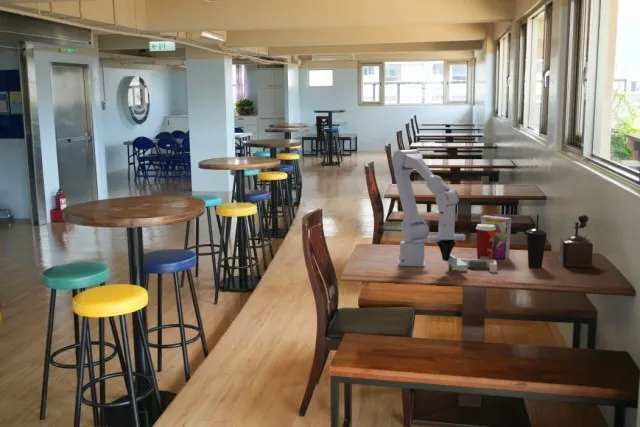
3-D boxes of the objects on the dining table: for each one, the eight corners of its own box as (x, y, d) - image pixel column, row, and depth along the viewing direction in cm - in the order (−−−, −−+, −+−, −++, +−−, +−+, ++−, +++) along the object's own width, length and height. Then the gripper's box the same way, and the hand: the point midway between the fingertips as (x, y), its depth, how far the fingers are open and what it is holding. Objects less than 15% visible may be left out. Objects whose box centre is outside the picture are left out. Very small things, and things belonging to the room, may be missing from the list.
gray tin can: (469, 269, 252) (470, 267, 249) (469, 262, 253) (470, 259, 250) (485, 270, 251) (486, 268, 248) (485, 262, 252) (486, 260, 249)
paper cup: (495, 262, 259) (496, 227, 257) (474, 262, 260) (476, 226, 258) (493, 258, 267) (495, 223, 264) (474, 257, 268) (475, 223, 266)
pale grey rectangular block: (448, 270, 248) (449, 255, 247) (448, 265, 256) (448, 251, 255) (496, 272, 245) (497, 257, 244) (494, 266, 253) (495, 252, 252)
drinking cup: (523, 268, 251) (526, 215, 247) (525, 263, 258) (527, 212, 254) (545, 270, 248) (548, 217, 245) (545, 265, 255) (548, 213, 252)
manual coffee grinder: (594, 268, 250) (597, 221, 247) (563, 267, 252) (566, 220, 249) (585, 258, 266) (588, 214, 262) (556, 257, 267) (558, 213, 264)
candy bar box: (478, 256, 269) (479, 216, 266) (482, 254, 273) (484, 214, 270) (505, 260, 263) (507, 219, 260) (509, 258, 267) (511, 217, 264)
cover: (445, 260, 249) (445, 251, 249) (458, 259, 250) (458, 251, 249) (453, 267, 239) (453, 258, 238) (467, 267, 239) (467, 258, 238)
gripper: (433, 226, 235) (432, 264, 238) (470, 224, 240) (468, 261, 242) (424, 223, 242) (423, 259, 244) (460, 221, 246) (459, 257, 249)
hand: (445, 260), depth 244 cm, fingers closed
